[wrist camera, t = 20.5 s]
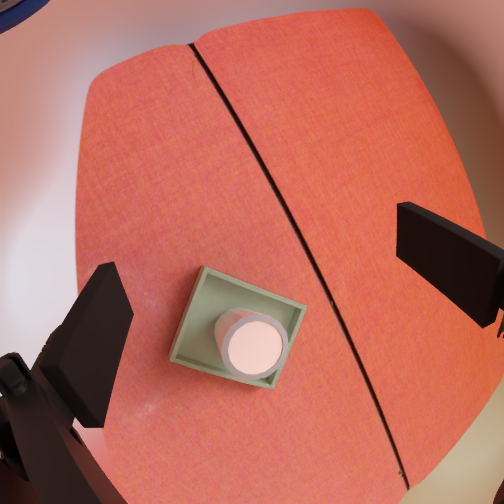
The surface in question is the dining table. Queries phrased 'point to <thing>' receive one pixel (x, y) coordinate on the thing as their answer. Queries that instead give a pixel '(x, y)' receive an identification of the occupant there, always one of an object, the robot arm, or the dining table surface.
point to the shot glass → (250, 343)
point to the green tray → (208, 312)
